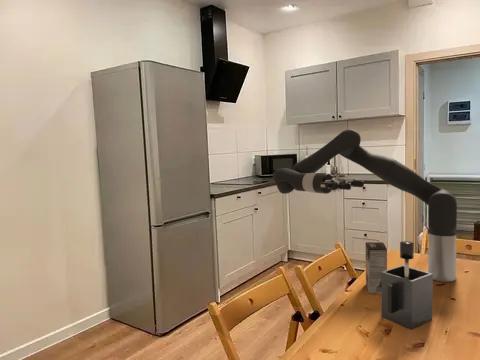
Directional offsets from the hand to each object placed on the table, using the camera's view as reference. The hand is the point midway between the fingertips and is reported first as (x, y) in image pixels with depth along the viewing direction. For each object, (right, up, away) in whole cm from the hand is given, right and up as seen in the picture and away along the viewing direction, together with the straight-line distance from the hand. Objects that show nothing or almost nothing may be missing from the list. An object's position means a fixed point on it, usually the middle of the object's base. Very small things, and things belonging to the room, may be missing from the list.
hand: (357, 185), depth 129 cm
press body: (+8, -40, -18) cm, 44 cm away
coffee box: (+9, -38, +6) cm, 39 cm away
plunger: (+9, -38, -17) cm, 42 cm away
